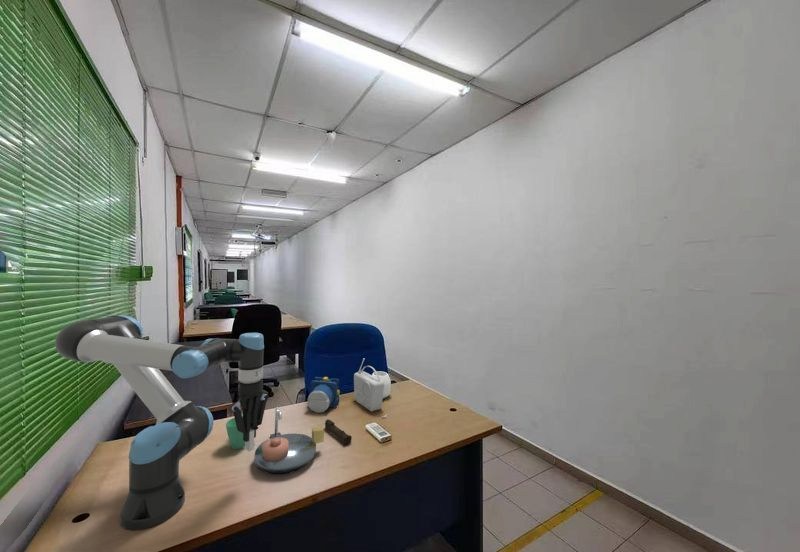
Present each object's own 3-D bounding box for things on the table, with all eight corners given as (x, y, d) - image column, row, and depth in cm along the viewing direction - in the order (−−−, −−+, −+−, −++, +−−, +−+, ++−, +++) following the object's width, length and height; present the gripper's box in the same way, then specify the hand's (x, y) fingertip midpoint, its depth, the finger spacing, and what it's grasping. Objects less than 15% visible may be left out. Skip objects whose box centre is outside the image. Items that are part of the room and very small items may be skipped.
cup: (365, 399, 178) (366, 376, 178) (371, 391, 191) (372, 369, 191) (388, 402, 176) (389, 378, 176) (392, 393, 189) (393, 371, 189)
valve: (314, 400, 174) (313, 374, 172) (340, 402, 172) (340, 377, 170) (304, 413, 161) (303, 386, 159) (332, 416, 159) (331, 389, 157)
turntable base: (282, 481, 108) (282, 475, 108) (249, 463, 117) (249, 458, 117) (320, 455, 123) (320, 450, 123) (288, 441, 132) (289, 437, 132)
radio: (350, 399, 177) (351, 355, 177) (362, 396, 182) (364, 354, 182) (370, 414, 160) (372, 366, 160) (384, 410, 165) (385, 363, 165)
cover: (272, 465, 109) (273, 449, 109) (256, 456, 114) (257, 441, 114) (293, 452, 117) (293, 438, 117) (277, 445, 122) (277, 431, 122)
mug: (252, 449, 125) (253, 425, 125) (224, 455, 121) (225, 429, 121) (252, 432, 139) (252, 409, 138) (226, 436, 134) (227, 413, 134)
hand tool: (352, 444, 133) (352, 433, 133) (343, 447, 130) (344, 436, 130) (330, 426, 147) (331, 416, 147) (322, 428, 145) (323, 418, 145)
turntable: (281, 480, 105) (282, 459, 105) (241, 458, 116) (242, 439, 116) (331, 447, 125) (331, 429, 125) (293, 431, 137) (293, 415, 136)
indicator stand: (270, 436, 135) (271, 405, 135) (279, 434, 138) (280, 404, 137) (274, 447, 127) (275, 414, 127) (284, 445, 130) (285, 412, 129)
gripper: (239, 387, 98) (237, 462, 98) (274, 376, 109) (273, 443, 110) (225, 383, 102) (223, 454, 102) (260, 372, 113) (259, 437, 113)
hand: (249, 449), depth 106 cm, fingers closed
